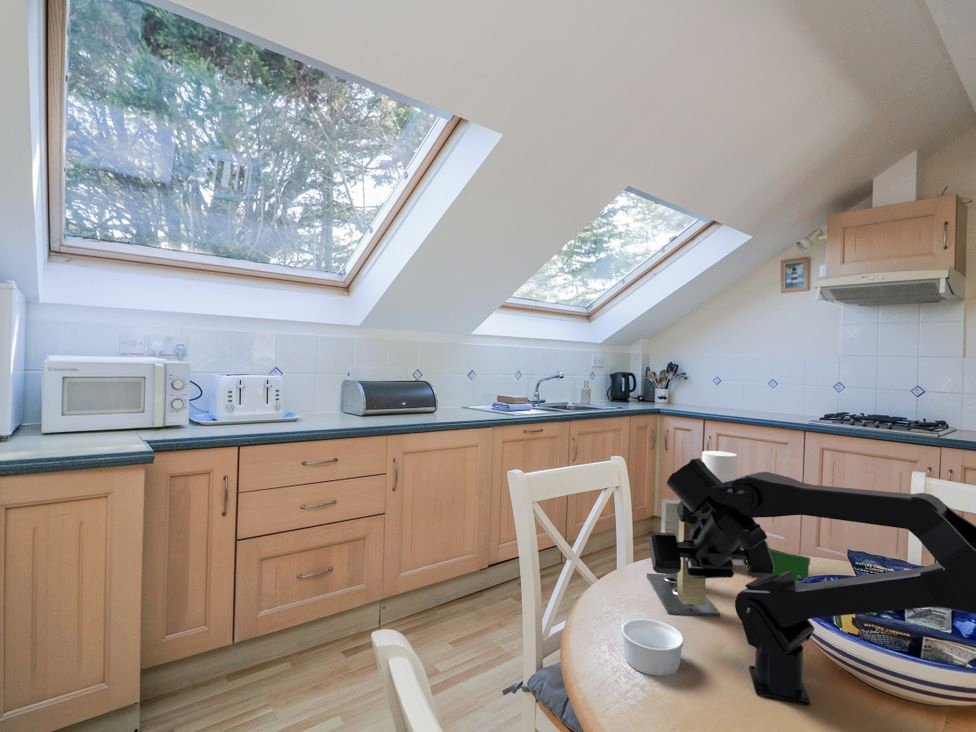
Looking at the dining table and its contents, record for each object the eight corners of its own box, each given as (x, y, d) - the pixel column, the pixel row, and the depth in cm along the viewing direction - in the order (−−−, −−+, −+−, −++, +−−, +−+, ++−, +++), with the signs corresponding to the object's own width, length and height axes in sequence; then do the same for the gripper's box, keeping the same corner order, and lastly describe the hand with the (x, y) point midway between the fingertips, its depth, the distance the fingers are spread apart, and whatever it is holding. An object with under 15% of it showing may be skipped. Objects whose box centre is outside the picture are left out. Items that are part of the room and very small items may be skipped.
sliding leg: (704, 609, 92) (707, 521, 92) (681, 607, 93) (684, 520, 93) (699, 601, 95) (701, 516, 95) (677, 600, 96) (679, 515, 96)
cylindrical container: (702, 568, 114) (705, 455, 114) (697, 556, 121) (699, 450, 121) (737, 572, 112) (740, 457, 112) (730, 560, 119) (732, 452, 119)
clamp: (797, 599, 109) (819, 563, 109) (794, 602, 105) (817, 564, 104) (742, 563, 117) (762, 529, 116) (737, 564, 112) (758, 528, 112)
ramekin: (683, 653, 80) (684, 625, 80) (682, 686, 72) (682, 654, 72) (625, 640, 83) (625, 613, 83) (616, 670, 75) (617, 640, 75)
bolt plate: (720, 616, 92) (722, 523, 92) (668, 613, 92) (670, 521, 92) (690, 578, 108) (692, 499, 108) (646, 576, 109) (648, 497, 109)
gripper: (768, 489, 85) (737, 534, 96) (652, 485, 86) (635, 530, 97) (792, 555, 77) (756, 596, 88) (665, 549, 78) (644, 591, 89)
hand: (696, 575), depth 91 cm, fingers closed
